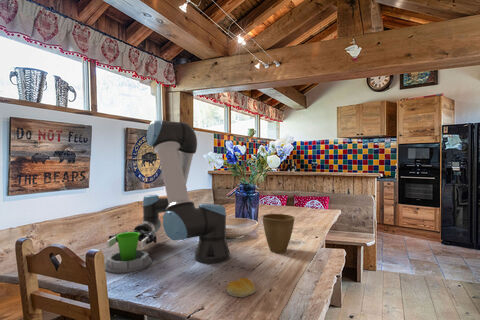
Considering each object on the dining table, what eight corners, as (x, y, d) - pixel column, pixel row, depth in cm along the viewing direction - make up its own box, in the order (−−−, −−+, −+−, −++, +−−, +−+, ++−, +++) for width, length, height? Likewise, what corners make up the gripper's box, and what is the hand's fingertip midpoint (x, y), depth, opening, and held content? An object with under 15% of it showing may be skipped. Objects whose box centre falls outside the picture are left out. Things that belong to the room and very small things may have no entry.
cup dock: (159, 264, 116) (159, 256, 116) (113, 277, 104) (113, 267, 104) (139, 254, 129) (139, 246, 129) (97, 264, 117) (97, 255, 117)
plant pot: (282, 258, 124) (282, 221, 124) (255, 251, 134) (255, 216, 134) (300, 250, 135) (300, 216, 135) (274, 244, 145) (274, 212, 145)
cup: (125, 267, 110) (125, 239, 110) (111, 263, 115) (111, 235, 115) (144, 260, 118) (144, 233, 118) (130, 256, 123) (130, 231, 123)
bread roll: (222, 290, 94) (222, 278, 94) (245, 284, 98) (245, 272, 98) (235, 301, 87) (235, 288, 87) (259, 294, 91) (259, 281, 91)
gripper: (170, 239, 134) (156, 254, 113) (117, 239, 135) (93, 253, 114) (170, 223, 134) (156, 235, 113) (117, 223, 135) (93, 234, 114)
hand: (124, 244), depth 113 cm, fingers open, 13 cm apart
